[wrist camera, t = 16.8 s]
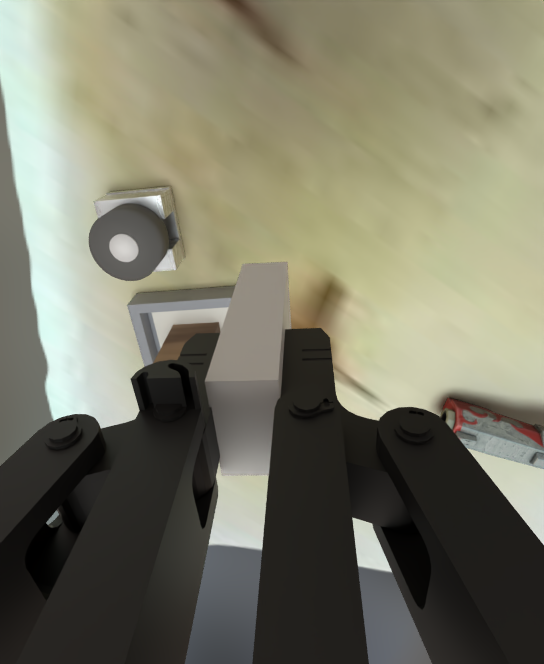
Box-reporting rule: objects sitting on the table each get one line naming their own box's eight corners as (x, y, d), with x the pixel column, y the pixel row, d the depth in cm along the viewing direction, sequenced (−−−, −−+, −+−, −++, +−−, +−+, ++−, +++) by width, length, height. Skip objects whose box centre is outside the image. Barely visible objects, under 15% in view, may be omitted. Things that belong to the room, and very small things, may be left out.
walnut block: (173, 324, 46) (149, 369, 39) (218, 322, 46) (204, 366, 38) (181, 363, 49) (161, 413, 41) (225, 361, 48) (212, 410, 41)
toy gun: (442, 371, 53) (454, 421, 44) (609, 418, 51) (655, 480, 42) (429, 399, 55) (438, 452, 47) (588, 445, 53) (629, 510, 45)
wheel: (107, 199, 40) (78, 215, 35) (169, 193, 40) (150, 209, 34) (123, 260, 43) (99, 284, 38) (182, 255, 43) (166, 279, 37)
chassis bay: (136, 293, 46) (127, 305, 43) (248, 284, 45) (245, 296, 42) (161, 384, 52) (154, 400, 49) (260, 379, 51) (258, 395, 48)
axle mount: (109, 191, 41) (93, 200, 38) (170, 185, 40) (159, 194, 37) (128, 261, 44) (114, 275, 41) (185, 257, 44) (176, 270, 40)
